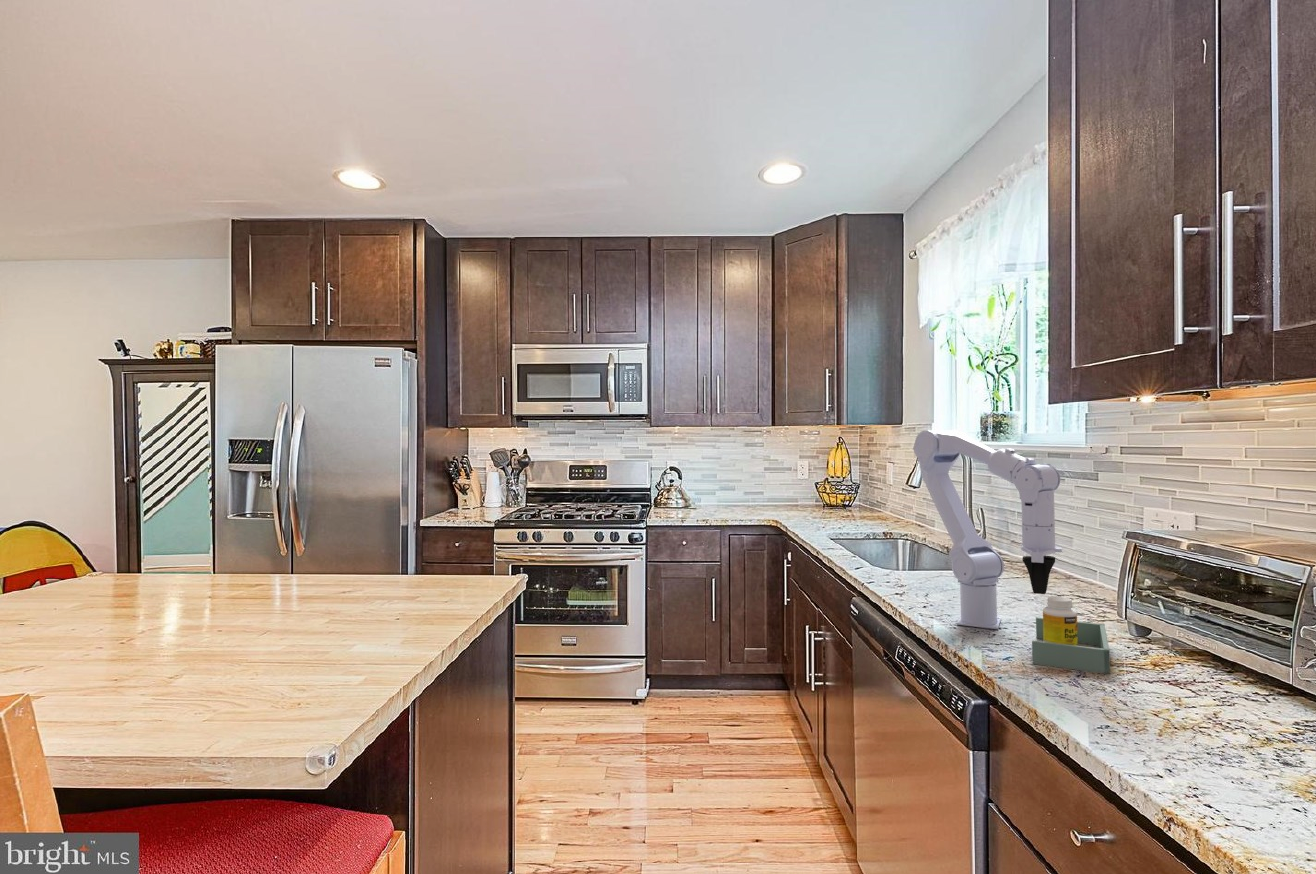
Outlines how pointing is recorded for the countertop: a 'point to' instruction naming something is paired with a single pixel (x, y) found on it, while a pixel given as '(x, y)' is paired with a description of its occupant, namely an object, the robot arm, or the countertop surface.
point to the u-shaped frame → (1074, 649)
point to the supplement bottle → (1060, 621)
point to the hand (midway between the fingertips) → (1039, 593)
